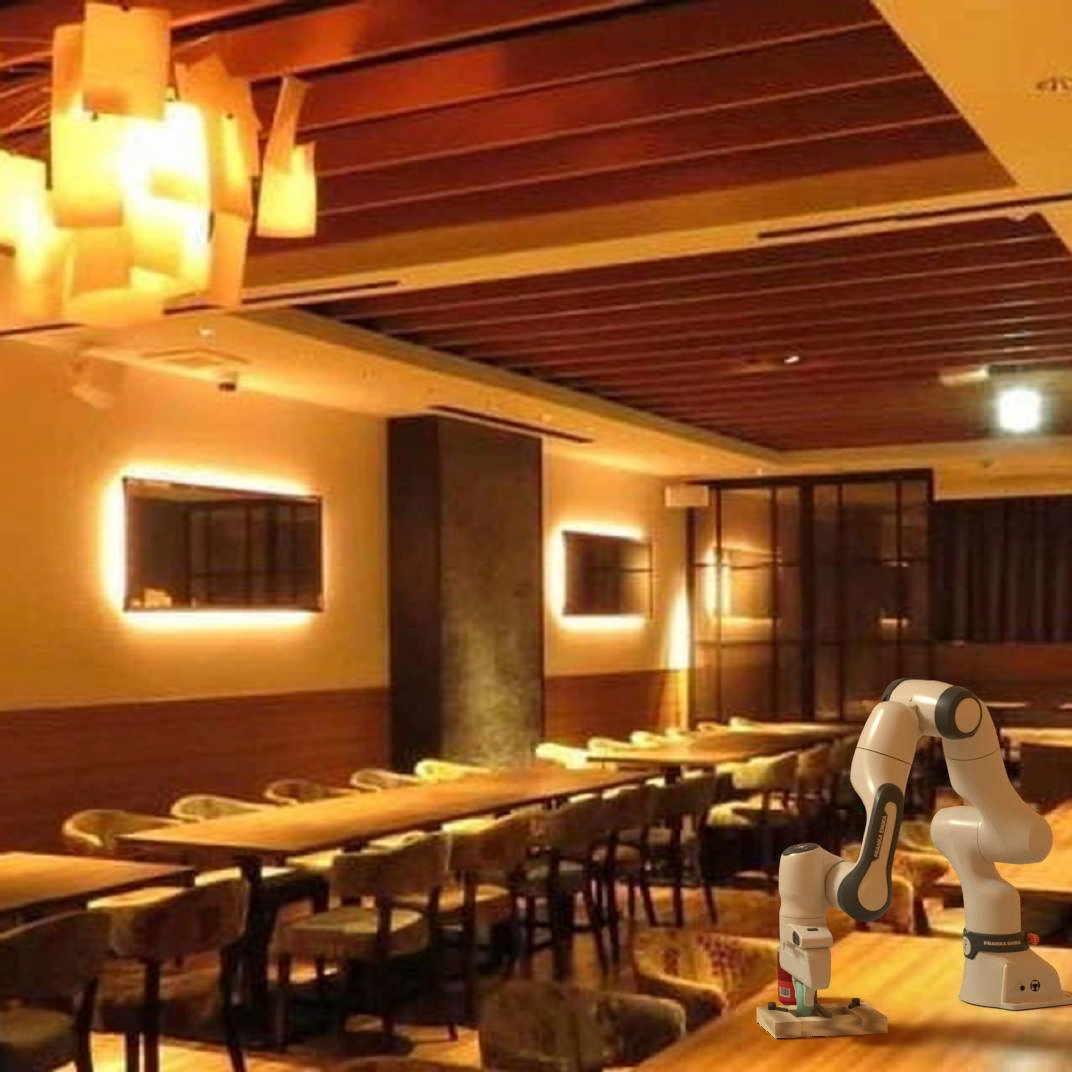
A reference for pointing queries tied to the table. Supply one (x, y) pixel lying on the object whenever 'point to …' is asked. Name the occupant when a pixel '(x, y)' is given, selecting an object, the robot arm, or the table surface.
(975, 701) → the robot arm
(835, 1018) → the shelf
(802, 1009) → the pale green rounded block
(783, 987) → the canned food
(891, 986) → the table surface
